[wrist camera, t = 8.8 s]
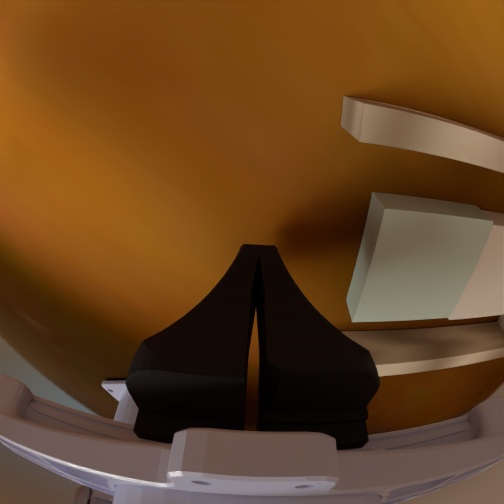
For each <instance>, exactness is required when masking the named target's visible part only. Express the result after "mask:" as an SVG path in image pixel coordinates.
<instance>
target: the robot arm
mask: <svg viewBox="0 0 504 504" xmlns="http://www.w3.org/2000/svg"><path fill="white" fill-rule="evenodd" d="M255 310H256V312H257V327H258V341H259V383H258V406H257V428H256V431H244V424H245V406H246V388H247V370H248V356H249V348H250V342H251V335H252V329H253V323H254V316H255ZM379 386H380V379H379V375H378V371H377V368H376V365H375V363H374V360H373V358H372V356H371V354H370V351H369V350H367V349H366V348H364V347H363V346H361V345H359V344H358V343H356V342H355V341H353V340H352V339H350V338H349V337H347V336H346V335H345V334H343V333H342V332H341V331H339V330H338V329H337V328H336V327H334V326H333V325H332V324H331V323H330V322H329V321H328V320H327V319H325V318H324V317H323V316H322V315H321V314H320V313H319V312H318V311H317V310H316V309H315V308H314V306H313V305H312V304H311V303H310V302H309V301H308V299H307V298H306V297H305V296H304V294H303V293H302V292H301V290H300V289H299V288H298V286H297V285H296V283H295V282H294V280H293V279H292V277H291V275H290V274H289V272H288V270H287V269H286V267H285V265H284V263H283V261H282V259H281V257H280V255H279V252H278V249H277V248H276V247H275V246H272V245H251V244H243V245H242V246H241V248H240V250H239V252H238V254H237V256H236V258H235V260H234V261H233V263H232V264H231V266H230V267H229V269H228V270H227V272H226V273H225V275H224V276H223V277H222V278H221V280H220V281H219V282H218V283H217V285H216V286H215V287H214V288H213V289H212V290H211V292H210V293H209V294H208V295H207V296H206V297H205V298H204V299H203V300H202V301H201V302H200V303H199V304H197V305H196V306H195V307H194V308H193V309H192V310H191V311H189V312H188V313H187V314H186V315H184V316H183V317H182V318H180V319H179V320H177V321H176V322H175V323H173V324H172V325H170V326H169V327H167V328H166V329H164V330H162V331H161V332H159V333H157V334H155V335H153V336H151V337H149V338H148V339H146V340H143V341H142V343H141V345H140V346H139V348H138V350H137V352H136V354H135V356H134V358H133V360H132V363H131V365H130V368H129V371H128V375H127V378H126V380H119V381H103V382H102V387H103V388H104V389H105V390H106V391H108V392H109V393H110V394H111V395H112V396H113V397H114V398H116V399H117V400H118V401H119V405H118V408H117V411H116V414H115V418H114V420H111V419H107V418H103V417H99V416H96V415H92V414H89V413H85V412H82V411H78V410H75V409H72V408H69V407H66V406H63V405H60V404H57V403H54V402H51V401H48V400H46V399H43V398H40V397H38V396H35V395H33V394H32V392H31V391H30V389H29V388H28V387H27V386H26V385H25V384H23V383H22V382H20V381H18V380H16V379H14V378H11V377H9V376H7V375H4V374H0V442H1V443H3V444H4V445H5V446H7V447H8V448H10V449H11V450H12V451H14V452H16V453H17V454H19V455H21V456H23V457H25V458H27V459H29V460H30V461H32V462H34V463H36V464H38V465H40V466H42V467H44V468H46V469H48V470H51V471H53V472H55V473H57V474H59V475H61V476H64V477H66V478H68V479H70V480H73V481H75V482H78V483H80V484H83V486H80V487H77V488H76V491H75V493H74V496H73V499H72V502H71V504H395V503H399V502H403V501H406V500H409V499H413V498H416V497H419V496H422V495H425V494H428V493H431V492H434V491H437V490H439V489H442V488H445V487H447V486H450V485H452V484H455V483H458V482H460V481H462V480H465V479H467V478H469V477H472V476H474V475H477V474H479V473H481V472H482V471H484V470H486V469H488V468H489V467H491V466H493V465H494V464H496V463H497V462H499V461H500V460H502V459H503V458H504V402H503V400H502V397H497V398H494V399H491V400H488V401H484V402H482V403H480V404H479V405H477V406H476V407H474V408H473V409H472V410H471V411H470V412H469V414H468V415H465V416H461V417H458V418H454V419H450V420H446V421H442V422H438V423H434V424H429V425H425V426H420V427H415V428H410V429H405V430H399V431H393V432H387V433H381V434H373V435H368V432H367V426H366V420H367V419H368V411H367V405H368V404H369V402H370V401H371V400H372V398H373V397H374V395H375V394H376V392H377V391H378V388H379ZM92 488H93V491H92Z"/></svg>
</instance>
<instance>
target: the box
mask: <svg viewBox="0 0 504 504" xmlns="http://www.w3.org/2000/svg"><path fill="white" fill-rule="evenodd" d="M341 127H342V128H344V129H345V130H346V131H347V132H349V133H350V134H351V135H352V136H353V137H355V138H356V139H357V140H358V141H359V142H365V143H372V144H378V145H385V146H391V147H396V148H402V149H408V150H413V151H418V152H423V153H428V154H432V155H437V156H441V157H446V158H450V159H454V160H458V161H462V162H466V163H470V164H474V165H478V166H481V167H485V168H488V169H492V170H495V171H498V172H502V173H504V138H502V137H500V136H497V135H495V134H492V133H489V132H487V131H484V130H481V129H478V128H475V127H472V126H469V125H466V124H463V123H460V122H457V121H454V120H451V119H447V118H444V117H440V116H437V115H433V114H430V113H426V112H422V111H418V110H414V109H410V108H405V107H401V106H397V105H392V104H387V103H382V102H377V101H372V100H366V99H360V98H354V97H347V96H344V99H343V110H342V119H341ZM341 332H342V333H343V334H345V335H346V336H347V337H349V338H350V339H352V340H353V341H355V342H356V343H358V344H359V345H361V346H363V347H364V348H366V349H367V350H369V351H370V354H371V356H372V358H373V360H374V363H375V365H376V368H377V371H378V375H379V376H390V375H400V374H409V373H417V372H424V371H432V370H438V369H445V368H451V367H457V366H462V365H468V364H473V363H478V362H483V361H487V360H492V359H496V358H500V357H504V314H503V315H501V316H500V317H499V319H498V321H496V322H488V323H479V324H470V325H459V326H448V327H436V328H421V329H404V330H380V331H341Z"/></svg>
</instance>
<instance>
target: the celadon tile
mask: <svg viewBox="0 0 504 504" xmlns="http://www.w3.org/2000/svg"><path fill="white" fill-rule="evenodd" d="M492 224H493V220H492V219H491V218H490V217H488V216H487V215H486V214H485V213H484V212H483V211H482V210H481V209H480V208H479V207H477V206H475V205H469V204H463V203H457V202H450V201H443V200H436V199H429V198H422V197H414V196H406V195H397V194H388V193H379V192H372V196H371V201H370V206H369V210H368V215H367V220H366V224H365V229H364V233H363V237H362V242H361V246H360V250H359V254H358V258H357V262H356V266H355V269H354V273H353V277H352V281H351V284H350V288H349V291H348V295H347V298H346V301H347V305H348V309H349V312H350V316H351V319H352V322H378V321H403V320H422V319H437V318H450V316H451V314H452V312H453V311H454V309H455V307H456V305H457V303H458V301H459V299H460V297H461V295H462V293H463V291H464V289H465V287H466V285H467V283H468V281H469V279H470V277H471V275H472V273H473V270H474V268H475V266H476V264H477V262H478V259H479V257H480V255H481V252H482V250H483V247H484V245H485V242H486V240H487V237H488V235H489V232H490V229H491V227H492Z"/></svg>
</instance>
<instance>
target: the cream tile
mask: <svg viewBox="0 0 504 504" xmlns="http://www.w3.org/2000/svg"><path fill="white" fill-rule="evenodd" d="M482 211H483V212H484V213H485V214H486V215H487V216H488V217H490V218H491V219H492V220H493V224H492V227H491V229H490V232H489V235H488V237H487V240H486V242H485V245H484V247H483V250H482V252H481V255H480V257H479V259H478V262H477V264H476V266H475V268H474V270H473V273H472V275H471V277H470V279H469V281H468V283H467V285H466V287H465V289H464V291H463V293H462V295H461V297H460V299H459V301H458V303H457V305H456V307H455V309H454V311H453V312H452V314H451V316H450V318H448V319H449V320H455V319H466V318H477V317H486V316H495V315H503V314H504V214H502V213H497V212H491V211H485V210H482Z"/></svg>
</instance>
